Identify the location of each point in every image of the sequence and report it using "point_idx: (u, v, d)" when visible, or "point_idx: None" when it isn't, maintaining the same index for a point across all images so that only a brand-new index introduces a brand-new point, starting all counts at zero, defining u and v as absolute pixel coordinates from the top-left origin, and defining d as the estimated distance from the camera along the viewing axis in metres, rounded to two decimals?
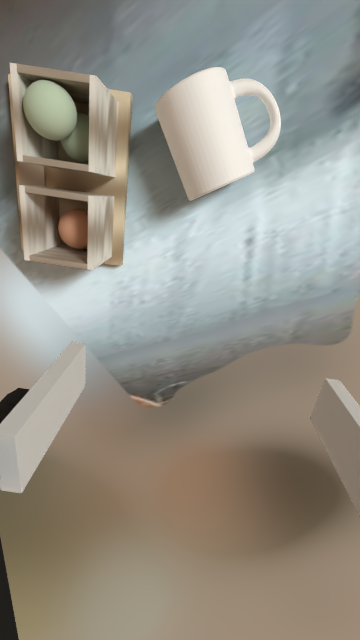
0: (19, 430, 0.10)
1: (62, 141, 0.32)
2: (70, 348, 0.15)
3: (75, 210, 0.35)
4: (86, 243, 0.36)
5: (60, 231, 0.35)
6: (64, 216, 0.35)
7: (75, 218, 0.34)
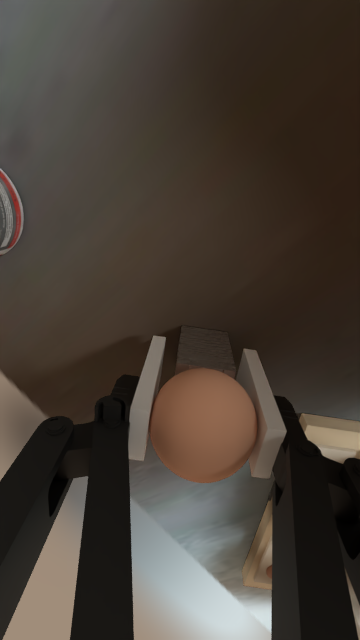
0: (149, 406, 0.12)
1: None
2: (155, 341, 0.17)
3: None
4: None
5: None
6: None
7: None
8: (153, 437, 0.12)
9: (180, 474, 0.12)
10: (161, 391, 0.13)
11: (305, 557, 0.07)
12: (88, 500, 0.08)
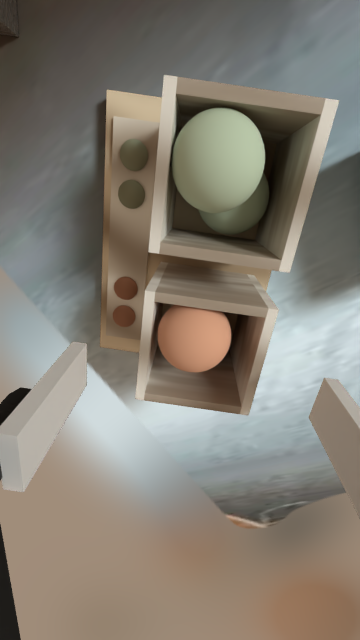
0: (21, 429, 0.10)
1: None
2: (71, 348, 0.15)
3: None
4: None
5: None
6: None
7: None
8: (159, 324, 0.19)
9: (171, 337, 0.17)
10: None
11: None
12: None
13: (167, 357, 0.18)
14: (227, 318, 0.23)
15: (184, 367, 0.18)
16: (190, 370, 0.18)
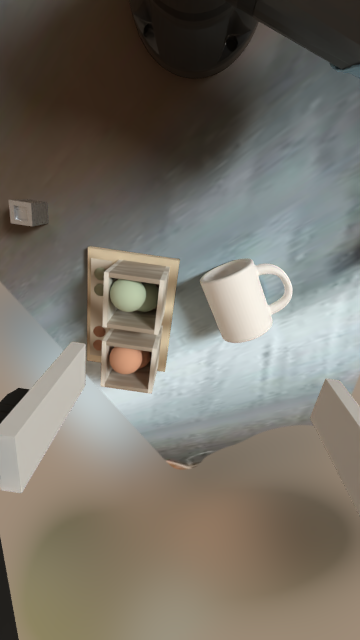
0: (19, 430, 0.10)
1: None
2: (70, 348, 0.15)
3: None
4: None
5: None
6: None
7: None
8: (110, 353, 0.43)
9: (113, 359, 0.41)
10: None
11: None
12: None
13: (112, 367, 0.42)
14: None
15: (119, 372, 0.42)
16: (122, 373, 0.42)
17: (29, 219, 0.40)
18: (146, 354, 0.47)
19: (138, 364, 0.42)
